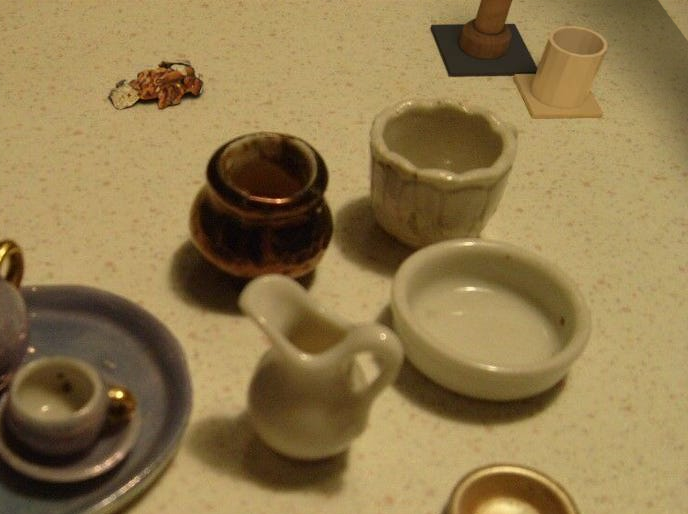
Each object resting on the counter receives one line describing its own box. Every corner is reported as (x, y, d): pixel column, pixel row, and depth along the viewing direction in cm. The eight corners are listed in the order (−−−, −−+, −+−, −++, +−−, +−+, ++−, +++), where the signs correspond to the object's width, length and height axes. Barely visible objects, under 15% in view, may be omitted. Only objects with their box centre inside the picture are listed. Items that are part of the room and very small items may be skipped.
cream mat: (579, 76, 114) (581, 73, 114) (601, 117, 109) (603, 113, 108) (513, 77, 114) (514, 73, 113) (532, 118, 108) (533, 114, 108)
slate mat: (513, 27, 122) (514, 23, 121) (537, 75, 114) (539, 71, 114) (430, 28, 121) (431, 24, 121) (449, 76, 114) (450, 72, 113)
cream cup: (574, 81, 114) (596, 25, 107) (591, 112, 109) (615, 56, 103) (522, 82, 113) (542, 25, 107) (537, 113, 109) (558, 57, 103)
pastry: (102, 91, 111) (100, 66, 108) (186, 68, 114) (186, 44, 111) (123, 120, 107) (121, 95, 104) (210, 97, 110) (210, 72, 107)
